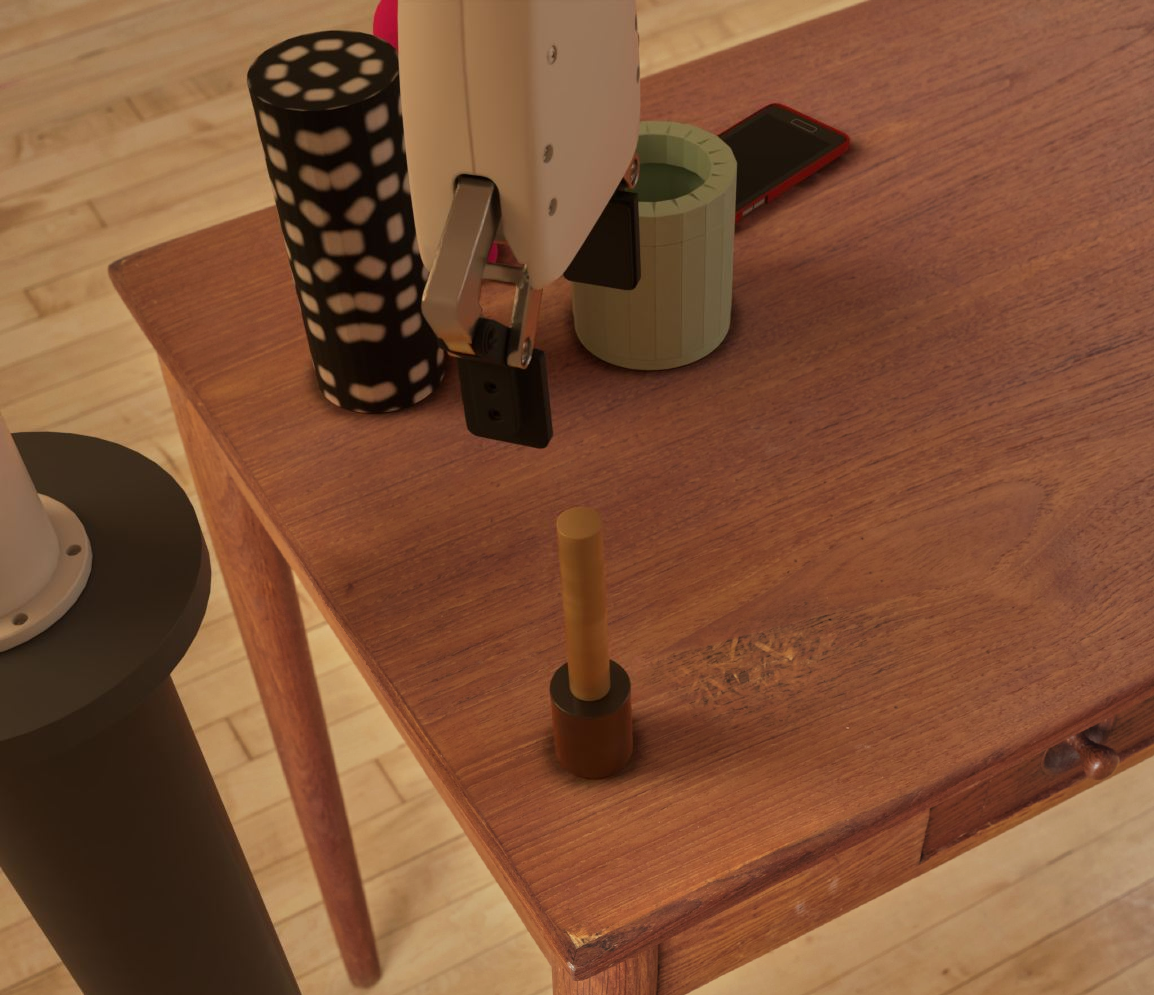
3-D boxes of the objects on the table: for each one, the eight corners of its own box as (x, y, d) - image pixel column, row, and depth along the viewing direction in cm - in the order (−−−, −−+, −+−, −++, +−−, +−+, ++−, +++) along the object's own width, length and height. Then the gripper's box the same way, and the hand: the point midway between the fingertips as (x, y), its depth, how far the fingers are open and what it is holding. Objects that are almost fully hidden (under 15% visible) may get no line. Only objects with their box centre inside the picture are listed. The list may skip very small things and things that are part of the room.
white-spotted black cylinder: (291, 375, 97) (215, 75, 81) (388, 314, 100) (333, 14, 84) (374, 431, 93) (312, 128, 77) (472, 367, 96) (432, 63, 80)
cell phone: (854, 149, 109) (855, 137, 108) (716, 238, 103) (717, 226, 102) (774, 111, 112) (774, 99, 111) (636, 196, 106) (636, 183, 106)
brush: (562, 785, 76) (540, 561, 63) (549, 724, 78) (526, 498, 65) (639, 772, 76) (633, 547, 63) (624, 712, 79) (616, 483, 66)
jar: (589, 381, 95) (581, 227, 86) (562, 286, 101) (552, 133, 92) (746, 357, 95) (754, 202, 87) (710, 264, 101) (714, 110, 93)
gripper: (505, -250, 49) (548, 216, 63) (263, 3, 40) (374, 486, 53) (724, -235, 47) (719, 242, 61) (523, 34, 38) (570, 527, 52)
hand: (558, 356), depth 57 cm, fingers open, 9 cm apart
